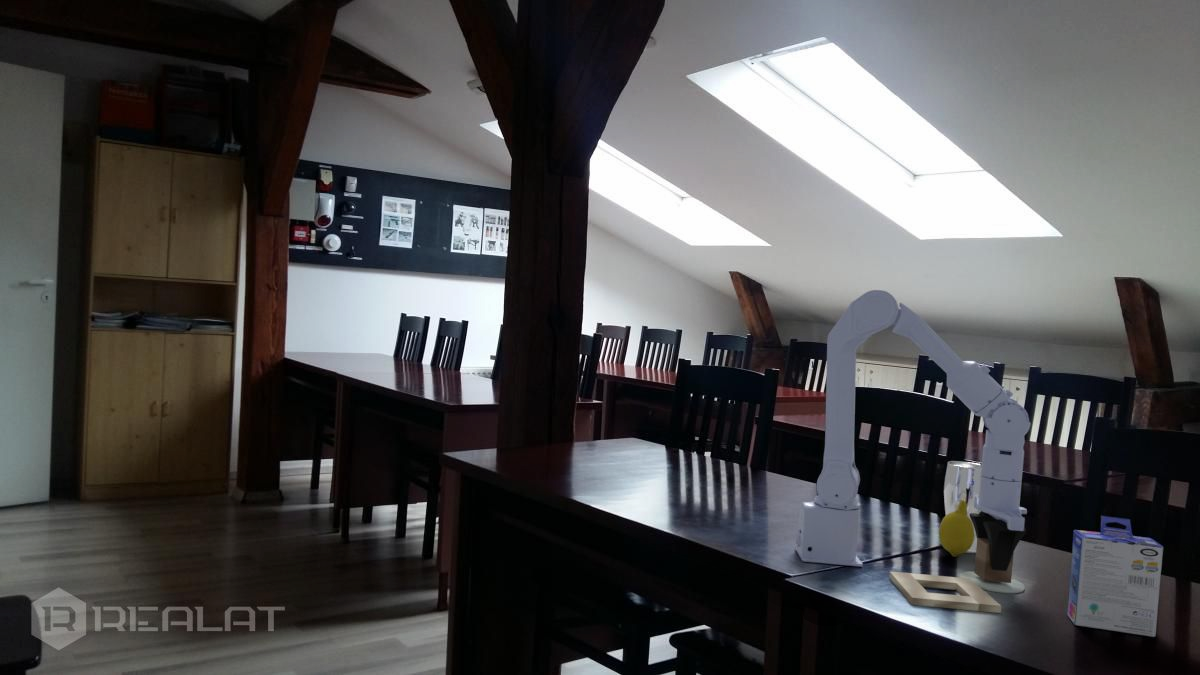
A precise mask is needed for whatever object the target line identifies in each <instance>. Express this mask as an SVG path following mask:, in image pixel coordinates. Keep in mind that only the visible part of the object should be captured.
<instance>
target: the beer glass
mask: <svg viewBox="0 0 1200 675" xmlns="http://www.w3.org/2000/svg"><path fill="white" fill-rule="evenodd" d="M981 467H982V463H975V462H970V461H961V460H959V461H958V460H956V461H955V460H950V461H947V466H946V472H945V476H944V485H943V496H944V497H943V498H944V511H945V516H946V515H947V514H949V513H952V512H955V511H956V510H959V511H961V512H962V513H963V514H965V515H966V516H968V517H969V518H970V513H977V514H979V512H981V511H980V510H978V509H976V508H975V507H974V500H975V496H979V489H980V477H981ZM970 520H971V518H970ZM972 524H973V523H972ZM973 527H974V525H973ZM976 547H977V536H976V532H975V528H974V541H973V544H972V546H971V548H970V549H969V550H968V551H966V552H965V553H964V554H976Z"/></svg>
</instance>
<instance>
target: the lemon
mask: <svg viewBox="0 0 1200 675" xmlns="http://www.w3.org/2000/svg"><path fill="white" fill-rule="evenodd" d="M938 538H939V542H940V544H941V546H942V548H943V549H945V551H947V552H949V553H950V555H951V556H952V557H955V558H956V557H958V556H960V555H961V554H966V553H965V552H966V551H968V550H969V549H970V548H971V546H972V544H973V541H974V527H973V524H972V521H971V520H970V518H969V517H968V516H966V515H965V514H963V513H962V512H961V511H959V510H956V511H955V512H952V513H949V514H947V515H946V514H945V516H944V517H943V518H942V520H941V522H940V525H939V529H938Z"/></svg>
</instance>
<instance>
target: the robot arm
mask: <svg viewBox="0 0 1200 675" xmlns="http://www.w3.org/2000/svg"><path fill="white" fill-rule="evenodd" d="M899 307H900V308H899ZM890 326H894V327H893V328H892V329H891V333H893V334H896V335H899V336H902V337H905V338H908V339H910V340H911V341H912V342H913V343H914V344H915V345H916V346H917V347H918V348H919V349H920V350H921V351H922V352H924V354H926V355H927V356H928V357H929V358H930V359H931V360H932V361H933V362H934V363H935V364H936V365H937V366H938V367H940V369H941V370H943V372H945V374H946V387H947V388H948V389H949V391H951V392H952V393H953V395H955V396H956V397H957V398H958V399H959V400H960V401H961V402H962V403H963V404H964V406H966V407H967V408H968V409H969V411H971V413H972V414H974V415H975V416H977V417H982V422H983V424H984V426H985V427H986V428H987V429H986V430H985V441H984V444H983V447H982V456H981V465H982V467H981V477H980V489H979V496H975V500H974V507H975V508H976V509H978V510H980V511H981V512H979V514H977V513H970V518H971V521H972V523H973V525H974V528H975V532H976V536H977V538H985V539H988V540H989V550H990V564H991V569H993V570H1001V571H1007V568H1008V566H1009V563H1010V560H1011V558H1012V555H1013V552H1014V553H1015V550H1016V548H1017V546H1018V544H1019V543H1020V541H1021V540H1022V538H1024V536H1025V535H1026V533H1027V529H1026V528H1025V521H1026V519H1025V517H1023V516H1022V515H1027V513H1028V510H1027V508H1025V507H1022V506H1020V502H1021V492H1022V480H1023V479H1022V478H1023V470H1024V458H1025V450H1024V446H1025V442H1026V440H1025V435H1026V434H1028V432H1029V431H1030V428H1031V424H1032V423H1031V422H1030V418H1029V414H1028V412H1027V410H1026V408H1024V407H1023V406H1022V405H1021V404H1019V403H1018V401H1017V400H1015V399H1013V398H1012V396H1014V393H1013V392H1012V391H1011V390H1010V389H1006V390H1005V389H1004V388H1003V387H1002V386H1001V385H1000V384H999V383H998V382H997V381H996V380H995V379H994V378H993V377H992V376H991V375H990V374H989V373H990V372H991V370H990V369H989V367H988V366H987V365H986V364H982V365H980V364H979V363H978V362H977V361H974V360H962V359H961V358H960V357H959V356H958V355H957V354H956V352H955V351H953V349H951V347H950V346H949V345H948V344H947V343H946V342H945V340H943V339H942V338H941V337H940V336H939V335H938V334H937V333H936V332H935V330H934V329H932V327H931V326H930V325H929V324H928V323H927V322H926V320H924V319H923V318H922V317H921V316H920V315H918V314H917V313H916V312H914V311H913V310H912V309H910V308H909V307H908V306H907V305H905V304H904V303H902V302H899V304H898V302H897V299H896V298H895V296H893V294H891V293H890V292H888V291H887V290H883V289H877V288H876V289H871V290H868V291H865V293H862V294H861V295H860V296H858V297H857V298H856V299H854V300H853V301H851V302H850V304H849V305H848V307H847V308H846V309H845V311H844V313H843V314H842V315H841V317H839V319H838V321H837V322H836V324H834V326H833V327H832V329H831V330H830V332H829V333H828V335H827V339H826V340H827V341H826V342H827V345H826V347H827V348H826V382H825V384H826V390H825V427H824V428H825V430H824V432H825V436H824V451H823V460H822V462H823V464H822V470H821V473H820V474H819V476H818V478H817V480H816V481H817V482H816V491H817V494H818V495H816V496H814V499H813V501H800V502H801V503H800V504H799V507H798V508H799V509H798V518H797V529H796V540H795V541H796V542H795V550H796V552H797V554H798V556H799V558H800V560H801V561H802V562H804V563H806V562H807V563H818V564H827V565H828V564H829V565H840V566H849V567H850V566H852V567H863V565H864V563H863V562H862V561H861V560H860V558H859V557H858V556H857V550H858V549H857V548H858V547H857V546H858V536H859V526H860V525H859V524H860V511H861V510H860V509H861V503H860V502H859V501H858V500H857V499H856V497H857V495H858V491H859V485H860V482H861V476H860V472H859V469H858V468H857V467H856V462H855V419H856V418H855V417H856V416H855V415H856V380H857V379H856V376H857V374H856V373H857V372H856V371H857V349H858V348H859V347H860V346H861V345H862V344H864V342H865V341H867V340H868V339H869V338H870V337H871V336H873V335H874V334H876V333H879V332H881V331H883V330H885V329H887V328H889V327H890ZM1013 556H1014V555H1013Z"/></svg>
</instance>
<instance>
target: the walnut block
mask: <svg viewBox="0 0 1200 675" xmlns="http://www.w3.org/2000/svg"><path fill="white" fill-rule="evenodd" d="M1014 554H1015V551H1014V552H1013V555H1012V558H1011V560H1010V563H1009V566H1008V568H1007V571H1001V570H993V569H991V564H990V550H989V540H988V539H985V538H977V547H976V553H975V558H974V559H975V560H974V571H973V572H974V573H975V574H977V575H978V576H979V577H980V578H981V579H982V580H984V581H993V582H1004V583H1011V578H1012V576H1013V575H1012V574H1013V566H1014Z"/></svg>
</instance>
